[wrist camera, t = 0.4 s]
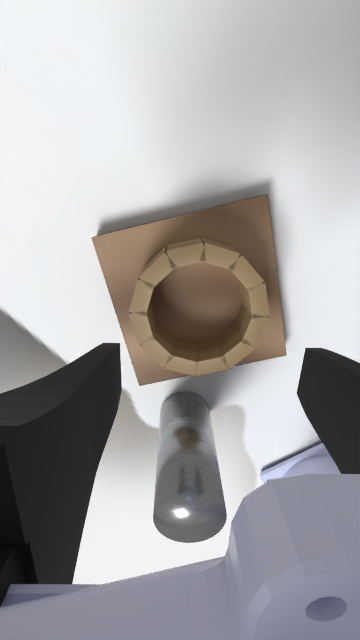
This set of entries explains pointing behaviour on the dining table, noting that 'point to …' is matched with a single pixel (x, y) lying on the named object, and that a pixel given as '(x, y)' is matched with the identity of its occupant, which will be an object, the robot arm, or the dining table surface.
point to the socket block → (196, 290)
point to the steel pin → (187, 472)
